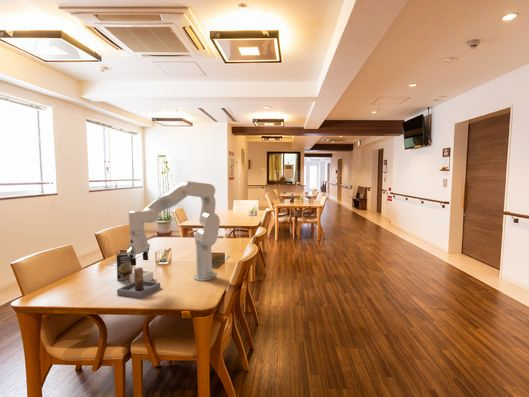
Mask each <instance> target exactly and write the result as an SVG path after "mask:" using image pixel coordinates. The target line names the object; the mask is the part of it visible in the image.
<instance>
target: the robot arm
mask: <svg viewBox="0 0 529 397" xmlns="http://www.w3.org/2000/svg"><path fill="white" fill-rule="evenodd" d="M215 194H216V188H215V186H214V185H213V184H211V183H203V182H196V181H191V180H190V181H189V180H188V181H186V180H184V181H182V182H181V183H179V184H178V185H176V186H175V187H174V188H173V189H171V190H170V191H168V192H167V193H166V194H164V195H163V196H161V197H159V198H157V200H154V201H152V202H151V203H150V204H149V205H148V206H146V207H145V208H143V210H139V209H138V210H136V209H135V210H131V211H129V212H128V224H129V235H130V236H129V247H128V250H127V251H126V252H125V253H127V255H128V257H129V258H130V261H131V265H133V266H135V267H136V265H137V259H136V256H137V255H140V254H142V260H143V261H149V250H150V246H151V244H150V243H149V242H148V237H147V234H146V233H145V224H147V223H149V224H153V223H156V222H157V221H158V220H159V219H160V218H159V217H160V215H159V214H160V213H161V212H163V211H165V210H167V209H170V208H173V207H176V206H177V205H178V204H179V203H181V202H182V201H183V200H184V199H186V198H187V197H188V196H189V197H195V198H196V197H198V198H200V200H201V209H200V214H199V224H200V225H201V226H203V227H201V228H199V229H197V230H196V231H195V233H194V242H195V252H196V253H195V254H196V255H195V256H196V258H195V260H196V262H195V263H196V274H195V275H194V280H196V281H198V282H199V281H201V282H202V281H203V282H205V281H211V280H213V279H214V278H216V277H217V276H218V272H214V270H213V263H212V262H213V261H212V258H213V257H212V256H213V255H212V246H214V245H215V244H216V243H217V240H218V236H219V230H220V226H221V225H220V223H221V222H220V221H221V220H220V217H219V215H218V214H217V213H215V212H216V205H217V204H216V202H217V201H216V198H215Z"/></svg>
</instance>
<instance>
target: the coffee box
mask: <svg viewBox="0 0 529 397" xmlns="http://www.w3.org/2000/svg"><path fill="white" fill-rule="evenodd" d="M115 256H116V280H117V282H121V281H126V280H127V281H128V280H130V274H132V273H134V268H133V266H134V265H131V261H130V258H129V257H128V255H127V253H126V252H120V253H116V254H115Z"/></svg>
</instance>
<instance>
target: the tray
mask: <svg viewBox="0 0 529 397" xmlns="http://www.w3.org/2000/svg"><path fill="white" fill-rule="evenodd" d="M143 284H144V289H143V290H141V291H136V290H135V281H134V282H129V283H128V284H126V285H123V286H122V287H120V288H118V289H117V290H116V292H117V296H122V297H131V298H136V299H137V298H138V299H143V298H144V297H146V296H149V295H150V294H151V293H153V292H155V291H157V290H159V289H161V282H159V281H158V282H157V281H151V280H150V281H143Z"/></svg>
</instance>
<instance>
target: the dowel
mask: <svg viewBox="0 0 529 397" xmlns="http://www.w3.org/2000/svg"><path fill="white" fill-rule="evenodd" d="M143 270H144V269H143V267H139V266H138V267H134V268H133V273H134V279H135V290H136V291H141V290H143V289H144V284H143Z"/></svg>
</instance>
